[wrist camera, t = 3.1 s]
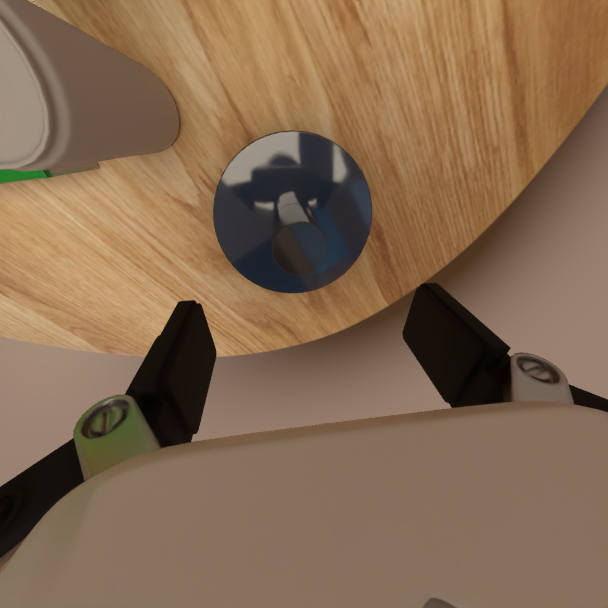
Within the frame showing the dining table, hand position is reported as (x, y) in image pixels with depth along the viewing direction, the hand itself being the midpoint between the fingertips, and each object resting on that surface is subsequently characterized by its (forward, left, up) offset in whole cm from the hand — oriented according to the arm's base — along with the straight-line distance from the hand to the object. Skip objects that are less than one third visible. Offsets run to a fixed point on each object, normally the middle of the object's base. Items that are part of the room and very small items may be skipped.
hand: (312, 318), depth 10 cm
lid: (0, 0, -13) cm, 13 cm away
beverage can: (+10, -8, -14) cm, 19 cm away
